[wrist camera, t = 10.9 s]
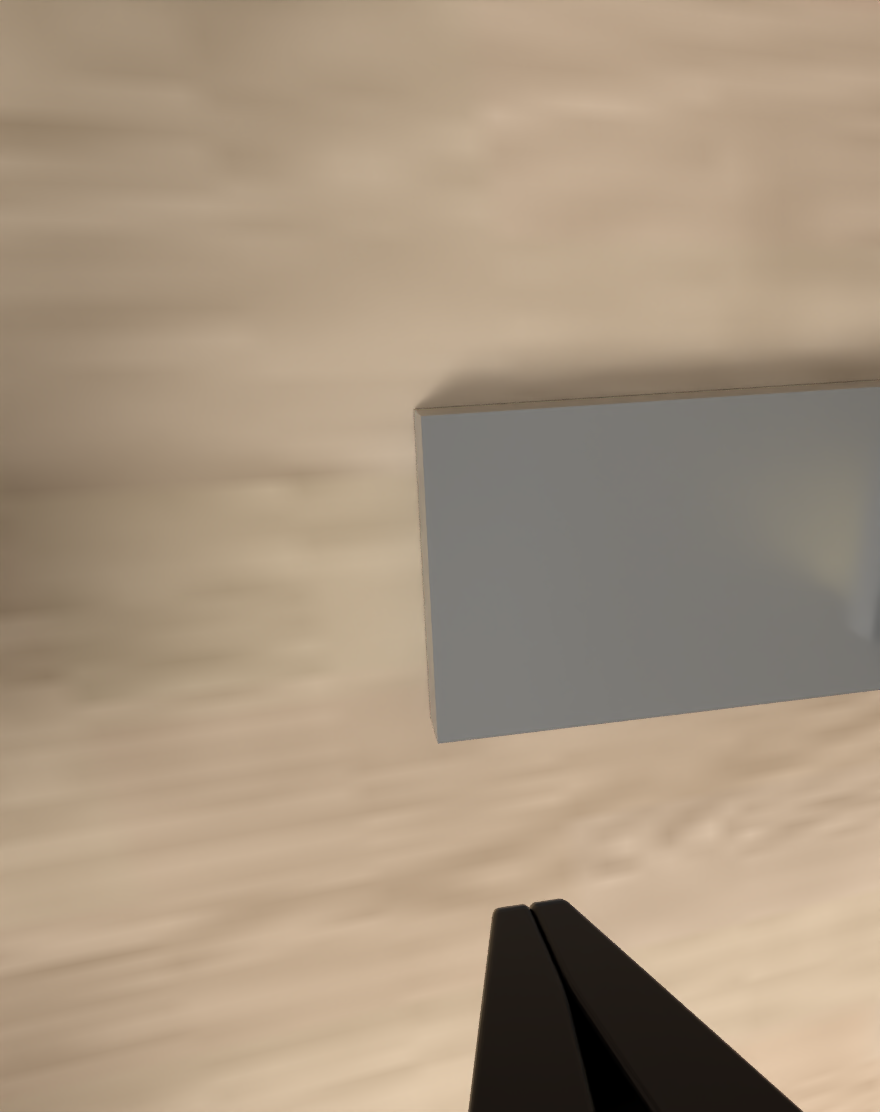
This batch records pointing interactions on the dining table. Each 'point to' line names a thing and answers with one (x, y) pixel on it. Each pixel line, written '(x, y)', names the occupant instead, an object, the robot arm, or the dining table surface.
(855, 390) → the rail
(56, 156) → the dining table surface
